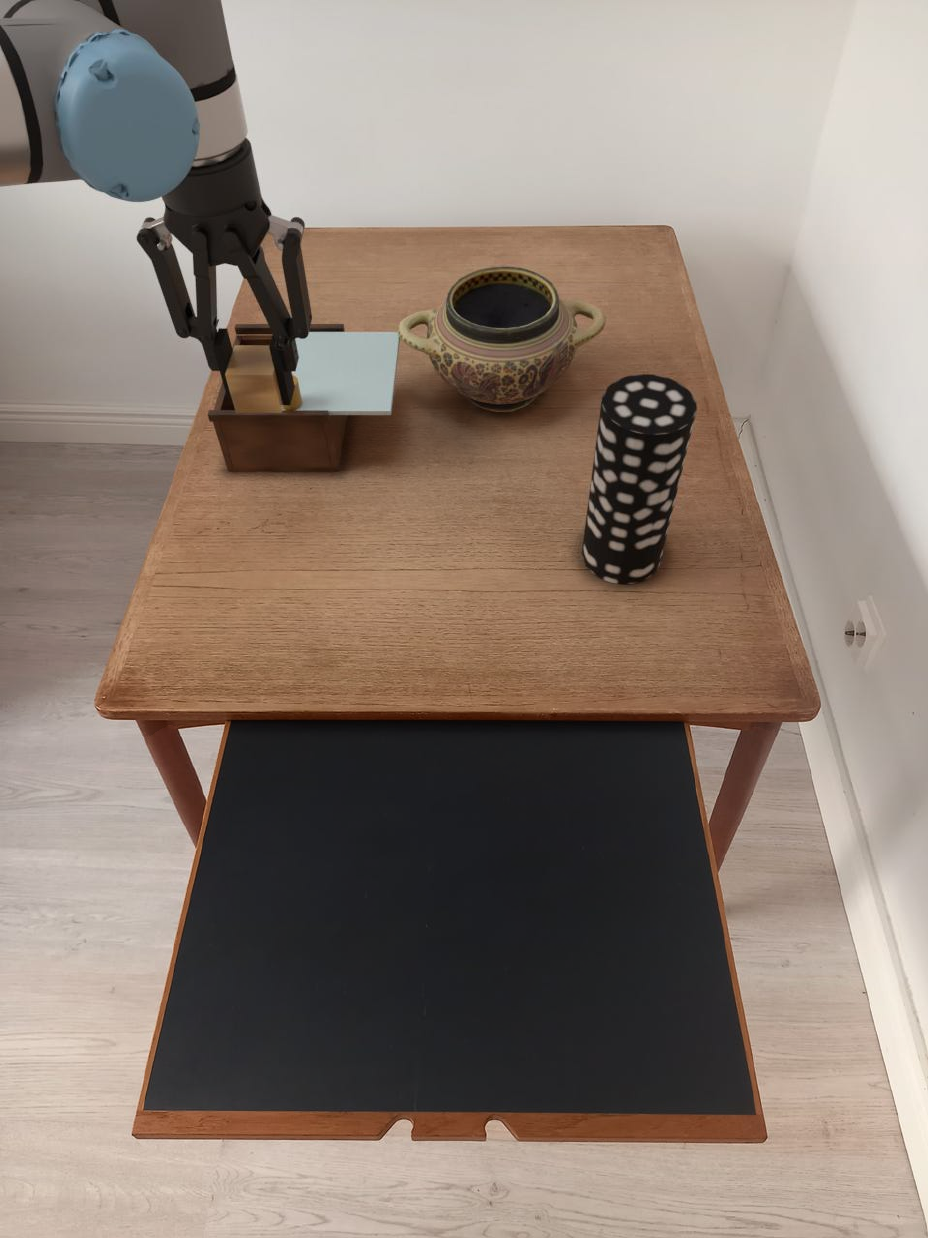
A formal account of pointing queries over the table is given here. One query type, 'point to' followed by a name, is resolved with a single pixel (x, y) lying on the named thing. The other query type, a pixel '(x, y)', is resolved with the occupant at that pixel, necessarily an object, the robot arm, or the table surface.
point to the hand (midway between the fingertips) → (262, 395)
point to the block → (253, 380)
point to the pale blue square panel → (346, 373)
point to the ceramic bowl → (502, 336)
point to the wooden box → (277, 426)
